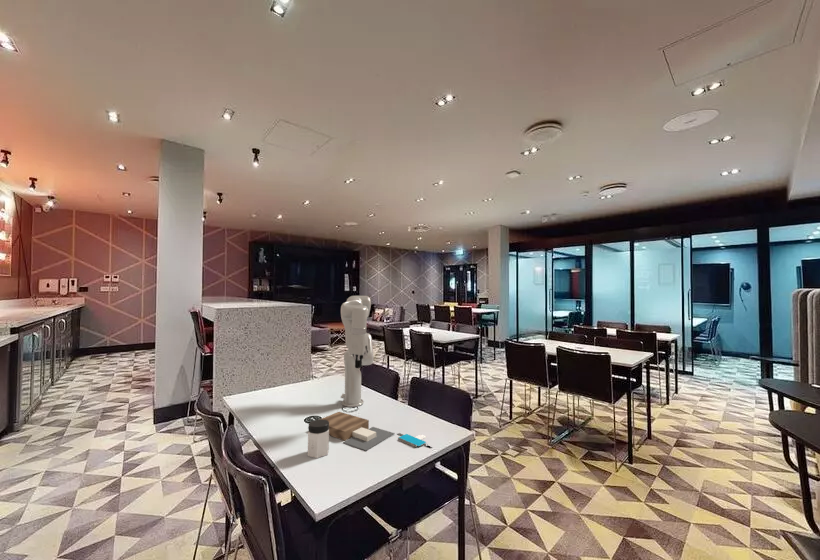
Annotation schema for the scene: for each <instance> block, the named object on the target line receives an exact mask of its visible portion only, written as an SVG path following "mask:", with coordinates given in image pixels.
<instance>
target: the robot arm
mask: <svg viewBox="0 0 820 560" xmlns="http://www.w3.org/2000/svg"><path fill="white" fill-rule="evenodd" d="M371 301H372V300H371V298H370V297H369V296H368V295H351V296H349V297H348V298H346V301H345V302H343V303H342V304H341V306H340V317H341V322H342V325H343V326H344V332H345V336H344V337H345V346H346V348H347V350H345V351H344V353H343V362H344V393H342V394H341V395H340V399H342V401H341V405H342V406H344V407H347V408H355V407H360V406H363V404H364V402H365V401H364V399H362V371H361V370H360V369H361V368H362V366H370V365H372V364H373V363H374V358H375V357H374V356H375V355H374V347H373V346H374V345H373V338H372V335H371V334H370V333H368V332H367V323H368V322H367V319H368V317H369V316H370V311H371V306H372V302H371Z"/></svg>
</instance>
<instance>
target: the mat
mask: <svg viewBox="0 0 820 560" xmlns="http://www.w3.org/2000/svg"><path fill="white" fill-rule="evenodd" d="M368 430H371V431H374V432H376V437H375V438H373V439H371V440H369V441H365V440H362V439H359V438H356V437H351V438H349V439H347V440H346V441H343V444H345V445H347V446H350V447H353V448H356V449H359V450H361V451H364V452H367V451H369V450H371V449H372V448H374V447H376V446H377V445H379V444H381V443H382V442H384V441H385V440H387V439H389V438H391V437H393V436H395V432H391V431H388V430H385V429H382V428H379V427H375V426H371V427H369V429H368Z"/></svg>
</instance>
